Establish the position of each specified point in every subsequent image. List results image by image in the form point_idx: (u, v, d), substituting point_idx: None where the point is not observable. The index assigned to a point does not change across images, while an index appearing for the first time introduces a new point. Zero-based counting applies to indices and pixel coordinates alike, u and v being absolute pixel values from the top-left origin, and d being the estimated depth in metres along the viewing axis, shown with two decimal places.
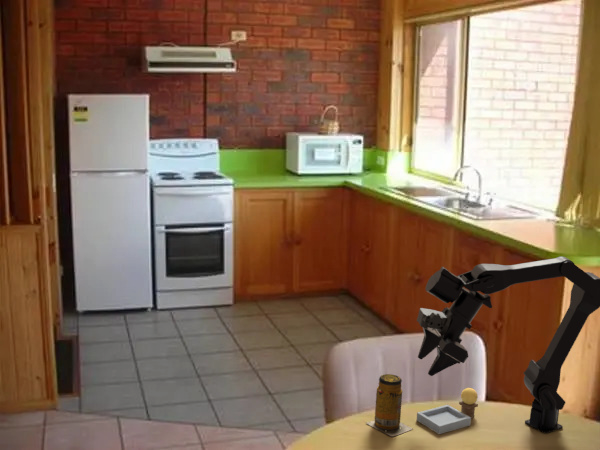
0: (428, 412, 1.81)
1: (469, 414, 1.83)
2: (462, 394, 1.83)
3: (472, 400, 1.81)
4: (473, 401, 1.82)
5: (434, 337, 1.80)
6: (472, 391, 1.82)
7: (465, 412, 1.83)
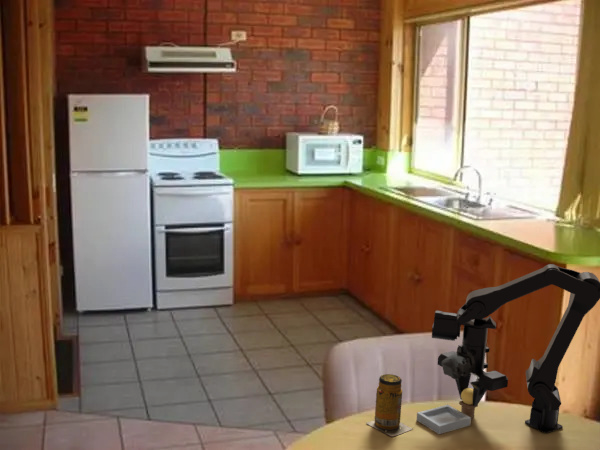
0: (428, 412, 1.81)
1: (469, 414, 1.83)
2: (462, 394, 1.83)
3: (472, 400, 1.81)
4: None
5: None
6: (472, 391, 1.82)
7: (465, 412, 1.83)
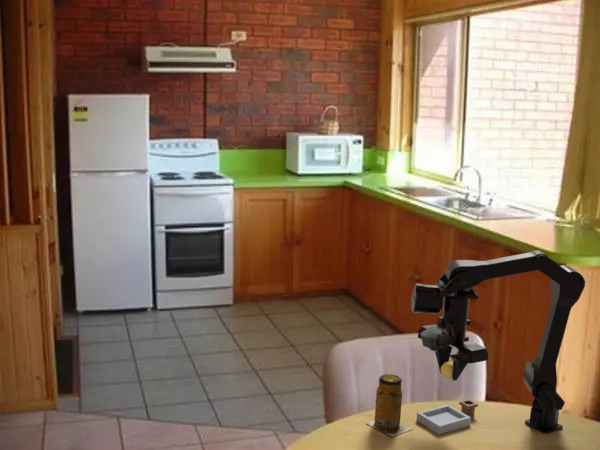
0: (428, 412, 1.81)
1: (469, 414, 1.83)
2: (442, 368, 1.77)
3: (451, 374, 1.76)
4: None
5: (444, 348, 1.79)
6: (452, 365, 1.76)
7: (465, 412, 1.83)
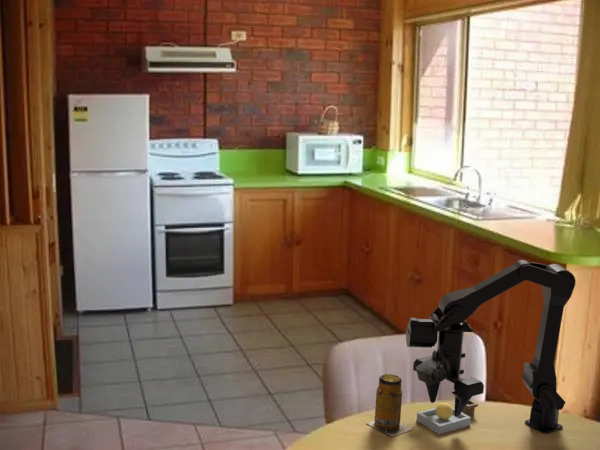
0: (428, 412, 1.81)
1: (469, 414, 1.83)
2: (437, 409, 1.78)
3: (446, 415, 1.77)
4: (448, 416, 1.77)
5: None
6: (447, 406, 1.78)
7: (465, 412, 1.83)
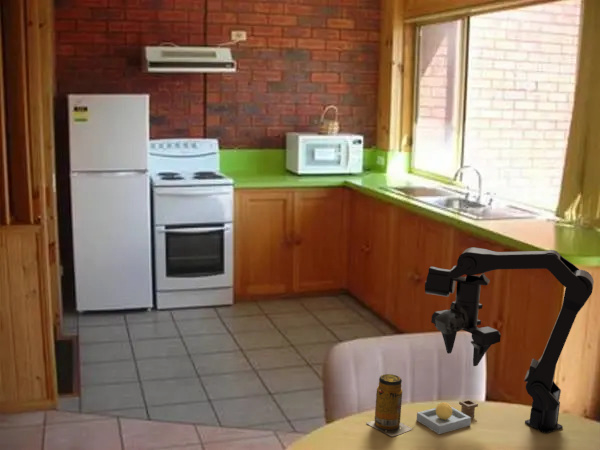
0: (428, 412, 1.81)
1: (469, 414, 1.83)
2: (436, 409, 1.78)
3: (446, 415, 1.77)
4: (448, 416, 1.77)
5: None
6: (446, 406, 1.78)
7: (465, 412, 1.83)
